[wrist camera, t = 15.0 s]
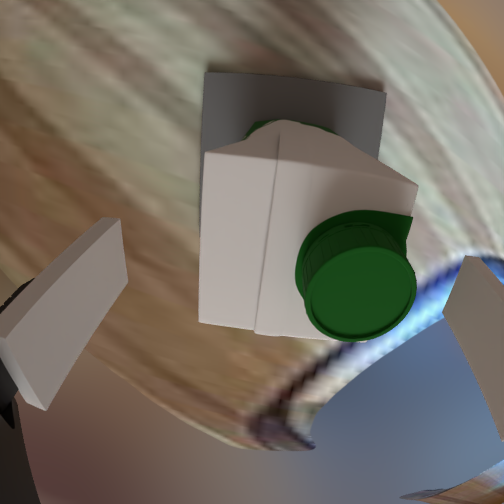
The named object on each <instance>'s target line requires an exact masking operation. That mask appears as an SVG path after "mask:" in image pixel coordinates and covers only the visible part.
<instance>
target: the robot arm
mask: <svg viewBox="0 0 504 504" xmlns="http://www.w3.org/2000/svg"><path fill="white" fill-rule="evenodd" d="M127 283H128V277H127V270H126V263H125V256H124V248H123V240H122V231H121V222H120V219H118V218H106V217H102V218H101V219H100V220H99V221H98V222H97V223H95V224H94V225H93V226H92V227H91V228H89V229H88V230H87V231H86V232H85V233H84V234H83V235H81V236H80V237H79V238H78V239H77V240H76V241H75V242H73V243H72V244H71V245H70V246H69V247H68V248H67V249H66V250H65V251H63V252H62V253H61V254H60V255H59V256H58V257H57V258H56V259H55V260H54V261H53V262H52V263H50V264H49V265H48V266H47V267H46V268H45V269H44V270H43V271H42V272H41V273H40V274H39V275H38V276H37V277H36V278H33V279H31V280H30V281H28V282H26V283H25V284H23V285H21V286H20V287H19V288H18V289H17V290H16V291H15V292H14V293H13V294H12V297H9V298H8V299H7V301H5V302H4V305H2V306H1V307H0V504H41V503H40V500H39V497H38V494H37V491H36V487H35V484H34V480H33V477H32V473H31V469H30V466H29V462H28V458H27V454H26V449H25V444H24V439H23V434H22V429H21V423H20V417H19V411H18V405H17V402H16V400H15V398H14V396H15V394H16V392H17V391H18V390H19V392H20V393H21V394H22V396H23V398H24V399H25V401H26V402H27V403H29V404H31V405H33V406H36V407H38V408H40V409H42V410H45V411H46V410H47V409H48V407H49V405H50V403H51V402H52V400H53V398H54V396H55V395H56V393H57V391H58V390H59V388H60V386H61V384H62V383H63V381H64V379H65V378H66V376H67V374H68V373H69V371H70V369H71V368H72V366H73V364H74V363H75V361H76V359H77V358H78V357H79V355H80V353H81V352H82V350H83V349H84V347H85V345H86V344H87V342H88V341H89V339H90V338H91V336H92V335H93V333H94V331H95V330H96V328H97V327H98V325H99V324H100V322H101V321H102V319H103V318H104V316H105V315H106V313H107V312H108V310H109V309H110V307H111V306H112V305H113V303H114V302H115V300H116V299H117V297H118V296H119V294H120V293H121V291H122V290H123V289H124V287H125V286H126V284H127ZM442 313H443V315H444V317H445V318H446V320H447V322H448V324H449V326H450V328H451V329H452V331H453V333H454V335H455V337H456V339H457V341H458V343H459V345H460V346H461V349H462V351H463V353H464V355H465V357H466V359H467V361H468V363H469V365H470V367H471V369H472V371H473V373H474V375H475V378H476V380H477V382H478V384H479V386H480V389H481V391H482V393H483V396H484V398H485V400H486V403H487V405H488V407H489V410H490V412H491V415H492V417H493V419H494V422H495V425H496V427H497V430H498V433H499V435H500V438H501V441H504V285H503V284H502V283H501V282H500V281H499V279H498V278H497V277H496V276H495V275H494V274H493V272H492V271H491V270H490V269H489V268H488V267H487V266H486V265H485V263H484V262H483V261H482V260H481V259H480V258H479V257H473V256H466V255H465V257H464V260H463V263H462V265H461V268H460V271H459V273H458V276H457V278H456V281H455V283H454V286H453V288H452V291H451V293H450V295H449V298H448V300H447V302H446V305H445V307H444V309H443V311H442Z"/></svg>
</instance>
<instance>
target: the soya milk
mask: <svg viewBox="0 0 504 504" xmlns="http://www.w3.org/2000/svg"><path fill="white" fill-rule="evenodd" d="M417 191H418V185H417V184H416V183H414V182H412V181H411V180H409V179H408V178H406V177H404V176H403V175H401V174H400V173H398V172H396V171H395V170H393V169H392V168H390V167H388V166H387V165H385V164H383V163H382V162H380V161H378V160H377V159H375V158H373V157H371V156H370V155H368V154H366V153H365V152H363V151H361V150H359V149H358V148H356V147H355V146H353V145H352V144H350V143H349V142H348V141H346V140H345V139H344V138H342V137H341V136H339V135H338V134H336V133H335V132H334V131H332V130H331V129H329V128H327V127H323V126H320V125H315V124H311V123H306V122H300V121H294V120H287V119H274V120H265V121H257V122H254V124H253V125H252V126H251V128H250V129H249V131H248V132H247V133H246V135H245V136H244V137H243V139H242V140H241V141H240V142H237V143H233V144H230V145H227V146H224V147H220V148H217V149H214V150H210V151H206V152H205V154H204V169H203V186H202V206H201V230H200V261H199V322H202V323H208V324H214V325H221V326H228V327H235V328H242V329H249V330H254V332H255V333H256V334H262V335H269V336H290V337H300V338H310V339H322V340H335V341H344V342H366V341H367V340H370V339H374V338H377V337H379V336H381V335H383V334H385V333H387V332H389V331H390V330H392V329H393V328H394V327H396V326H397V325H398V324H399V323H400V322H401V321H402V320H403V319H404V318H405V317H406V315H407V314H408V312H409V311H410V309H411V307H412V305H413V303H414V300H415V296H416V290H417V282H416V281H417V280H416V276H415V272H414V270H413V268H412V266H411V265H410V263H409V261H408V259H407V258H406V254H407V248H406V239H407V236H408V233H409V230H410V227H411V224H412V220H413V217H410V216H411V212H412V209H413V206H414V202H415V199H416V195H417Z"/></svg>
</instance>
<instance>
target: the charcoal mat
mask: <svg viewBox="0 0 504 504" xmlns="http://www.w3.org/2000/svg"><path fill="white" fill-rule="evenodd" d="M386 94H387V93H385V92H380V91H376V90H371V89H366V88H361V87H355V86H350V85H344V84H338V83H332V82H325V81H318V80H311V79H303V78H294V77H285V76H274V75H261V74H244V73H211V72H205V76H204V93H203V113H202V136H201V167H200V230H201V206H202V186H203V169H204V154H205V152H206V151H210V150H214V149H217V148H220V147H224V146H227V145H230V144H233V143H237V142H240V141H241V140H242V139H243V137H244V136H245V135H246V133H247V132H248V131H249V129H250V128H251V126H252V125H253V124H254V122H257V121H265V120H274V119H287V120H294V121H300V122H306V123H311V124H315V125H320V126H323V127H327V128H329V129H331V130H332V131H334V132H335V133H336V134H338V135H339V136H341V137H342V138H344V139H345V140H346V141H348V142H349V143H350V144H352V145H353V146H355V147H356V148H358V149H359V150H361V151H363V152H365V153H366V154H368V155H370V156H371V157H373V158H375V159H377V160H378V153H379V147H380V140H381V134H382V126H383V119H384V111H385V103H386Z"/></svg>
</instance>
